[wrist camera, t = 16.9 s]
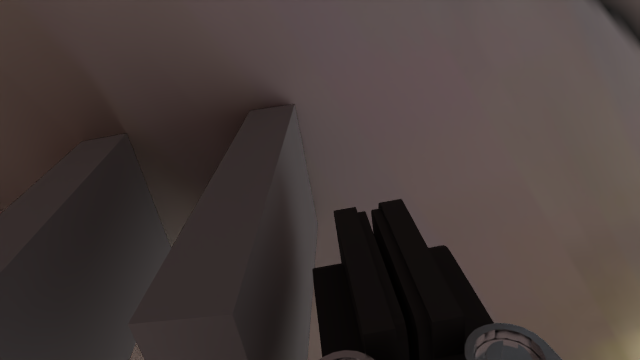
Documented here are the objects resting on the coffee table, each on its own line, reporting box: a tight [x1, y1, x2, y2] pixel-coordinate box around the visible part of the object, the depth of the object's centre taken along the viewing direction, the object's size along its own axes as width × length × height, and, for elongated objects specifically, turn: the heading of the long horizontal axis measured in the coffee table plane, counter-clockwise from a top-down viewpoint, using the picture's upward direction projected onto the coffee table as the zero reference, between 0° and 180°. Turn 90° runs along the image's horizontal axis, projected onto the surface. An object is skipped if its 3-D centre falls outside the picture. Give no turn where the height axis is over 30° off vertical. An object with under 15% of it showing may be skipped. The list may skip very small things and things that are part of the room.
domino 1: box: [0, 133, 171, 360], centre depth 12 cm, size 2×5×10 cm, turn 9°
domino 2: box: [128, 104, 318, 360], centre depth 12 cm, size 2×5×10 cm, turn 10°
